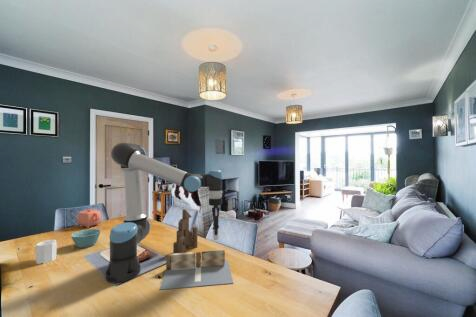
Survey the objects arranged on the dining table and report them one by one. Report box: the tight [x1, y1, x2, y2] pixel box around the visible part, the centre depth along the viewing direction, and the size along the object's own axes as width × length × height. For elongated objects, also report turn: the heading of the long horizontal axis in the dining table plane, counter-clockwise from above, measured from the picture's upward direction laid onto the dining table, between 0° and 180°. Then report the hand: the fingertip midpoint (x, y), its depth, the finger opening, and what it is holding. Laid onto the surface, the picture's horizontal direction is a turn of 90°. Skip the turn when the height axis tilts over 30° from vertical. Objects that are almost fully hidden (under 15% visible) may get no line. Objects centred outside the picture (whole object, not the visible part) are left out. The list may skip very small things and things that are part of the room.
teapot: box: [76, 208, 102, 229], centre depth 178 cm, size 22×13×14 cm, turn 71°
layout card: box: [159, 259, 234, 291], centre depth 104 cm, size 32×22×1 cm
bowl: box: [70, 228, 102, 249], centre depth 138 cm, size 16×16×8 cm
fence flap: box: [201, 249, 226, 267], centre depth 111 cm, size 12×2×7 cm, turn 99°
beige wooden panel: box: [165, 251, 202, 271], centre depth 109 cm, size 17×2×8 cm, turn 99°
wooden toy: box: [172, 209, 199, 254], centre depth 132 cm, size 15×7×25 cm, turn 152°
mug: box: [34, 239, 58, 265], centre depth 117 cm, size 12×9×10 cm
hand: (215, 239), depth 118 cm, fingers closed
